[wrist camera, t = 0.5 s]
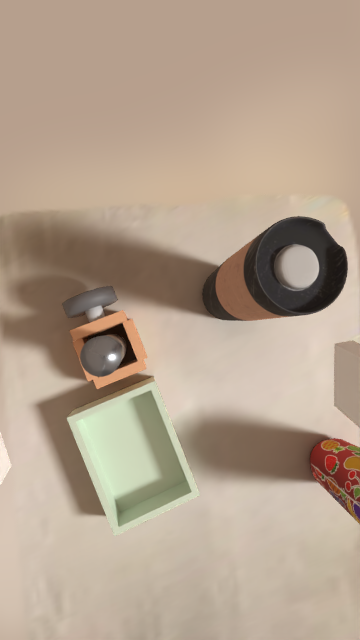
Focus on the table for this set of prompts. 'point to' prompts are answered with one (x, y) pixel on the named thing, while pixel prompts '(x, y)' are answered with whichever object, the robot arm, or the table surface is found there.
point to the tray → (133, 455)
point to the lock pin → (103, 354)
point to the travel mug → (279, 274)
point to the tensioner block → (98, 322)
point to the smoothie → (339, 472)
